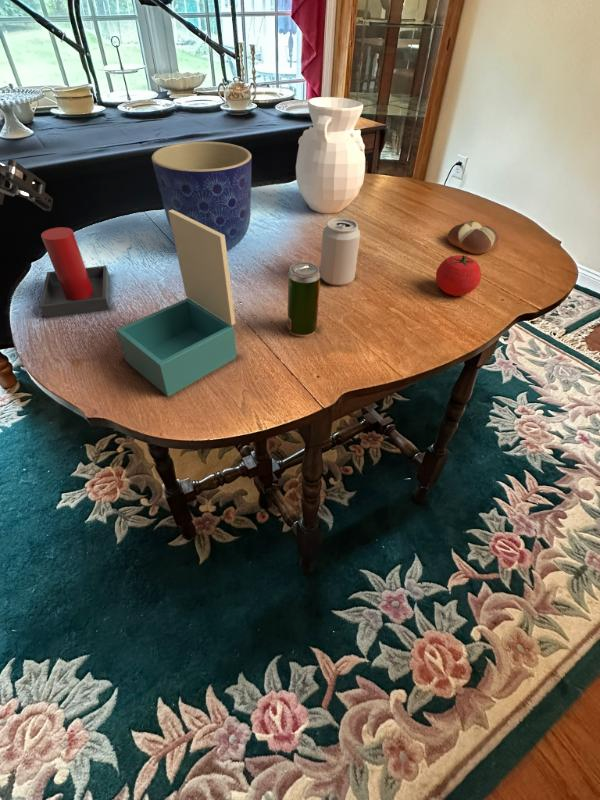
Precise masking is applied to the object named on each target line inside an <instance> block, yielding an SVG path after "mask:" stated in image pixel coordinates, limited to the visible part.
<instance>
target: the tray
mask: <svg viewBox="0 0 600 800" xmlns="http://www.w3.org/2000/svg"><path fill="white" fill-rule="evenodd" d="M85 268H86V271H87V274H88V277H89V279H90V282H91V285H92V288H93V294H92V295H91V296H90V297H88V298H86V299H83V300H69V299H67V298H66V297H65V295H64V292H63V290H62V287H61V285H60V282H59V280H58V277H57V275H56V272H55V270H53V271H47V272H46V276H45V280H44V285H43V290H42V294H41V299H40V304H39V309H40V310H41V312H42V314H43V317H44V319H51V318H59V317H66V316H74V315H75V316H76V315H81V314H90V313H96V312H97V313H98V312H104V311H105V312H106V311H110V310H111V309H110V308H111V307H110V304H111V303H110V302H111V301H110V300H111V299H110V297H111V296H110V293H111V291H110V289H111V288H110V287H111V286H110V285H111V282H110V281H111V280H110V278H111V276H110V274H109V273H110V272H109V270H108V267H107V265H100V266H99V265H98V266H90V267H85Z"/></svg>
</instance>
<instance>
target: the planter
mask: <svg viewBox="0 0 600 800" xmlns="http://www.w3.org/2000/svg"><path fill="white" fill-rule="evenodd" d="M252 159H253V157H252V153H251V152H250V151H249V150H248V149H246V148H244V147H243V146H239V145H236V144H232V143H228V142H227V143H226V142H221V141H220V142H219V141H189V142H180V143H174V144H170V145H167V146H164V147H160V148H159V149H157V150H155V151H154V153H152V155H151V162H152V166H153V170H154V174H155V178H156V182H157V185H158V190H159V194H160V197H161V202H162V205H163V208H164V212H165V216H166V220H167V222H168V225H169V228H170V230H171V231H172V227H171V223H170V218H169V213H168V211H169V210H175V211H177V212H179V213H181V214H183V215H185V216H187V217H189V218H191V219H193V220H195V221H197V222H199V223H201V224H203V225H205V226H207V227H209V228H211V229H213V230H215V231H217V232H219V233H221V234H223V235H225V242H226V250H229V249H231V248H233V247H235V246H237V245H238V244H239V243H240V242H241V241H242V240H243V239H244V238H245V236H247V235H246V234H247V232H248V230H249V226H250V222H251V215H252V214H251V213H252V207H251V206H252V161H253V160H252Z"/></svg>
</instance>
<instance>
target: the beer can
mask: <svg viewBox="0 0 600 800" xmlns="http://www.w3.org/2000/svg"><path fill="white" fill-rule="evenodd" d="M320 285H321V276H320V268H319V266H318V265H317V264H316V263H315V264H314V263H312V262H309V261H306V262H305V261H299V262H295V263H293V264H291V265H290V266H289V271H288V272H287V324H286V325H287V330H288V331H289V333H290V334H291V335H293V336H295V337H298V338H306V337H310V336H312V335H314V334H315V332H316V331H317V329H318V317H319V304H320V303H319V301H320Z"/></svg>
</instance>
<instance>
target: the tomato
mask: <svg viewBox="0 0 600 800" xmlns="http://www.w3.org/2000/svg"><path fill="white" fill-rule="evenodd" d="M481 278H482V270H481V266H480V265H479V263H478V261H477V260H475V259H474V258H472V257H469V256H468V255H467V254H466V255H463V254H462V255H460V254H459V255H458V254H457V255H450V256H448V257H447V258H445V259H443V261H441V263H440V264H439V266H438V267H437V269H436V272H435V281H436V284H437V286H438V288H439V289H440V290H441V291H442V292H443V293H445V294H447V295H449V296H454V297H459V296H460V297H462V296H465V295H468V294H471V293H472V292H473V291H474V290H476V289H477V287H478V286H479V284H480V283H481Z"/></svg>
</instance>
